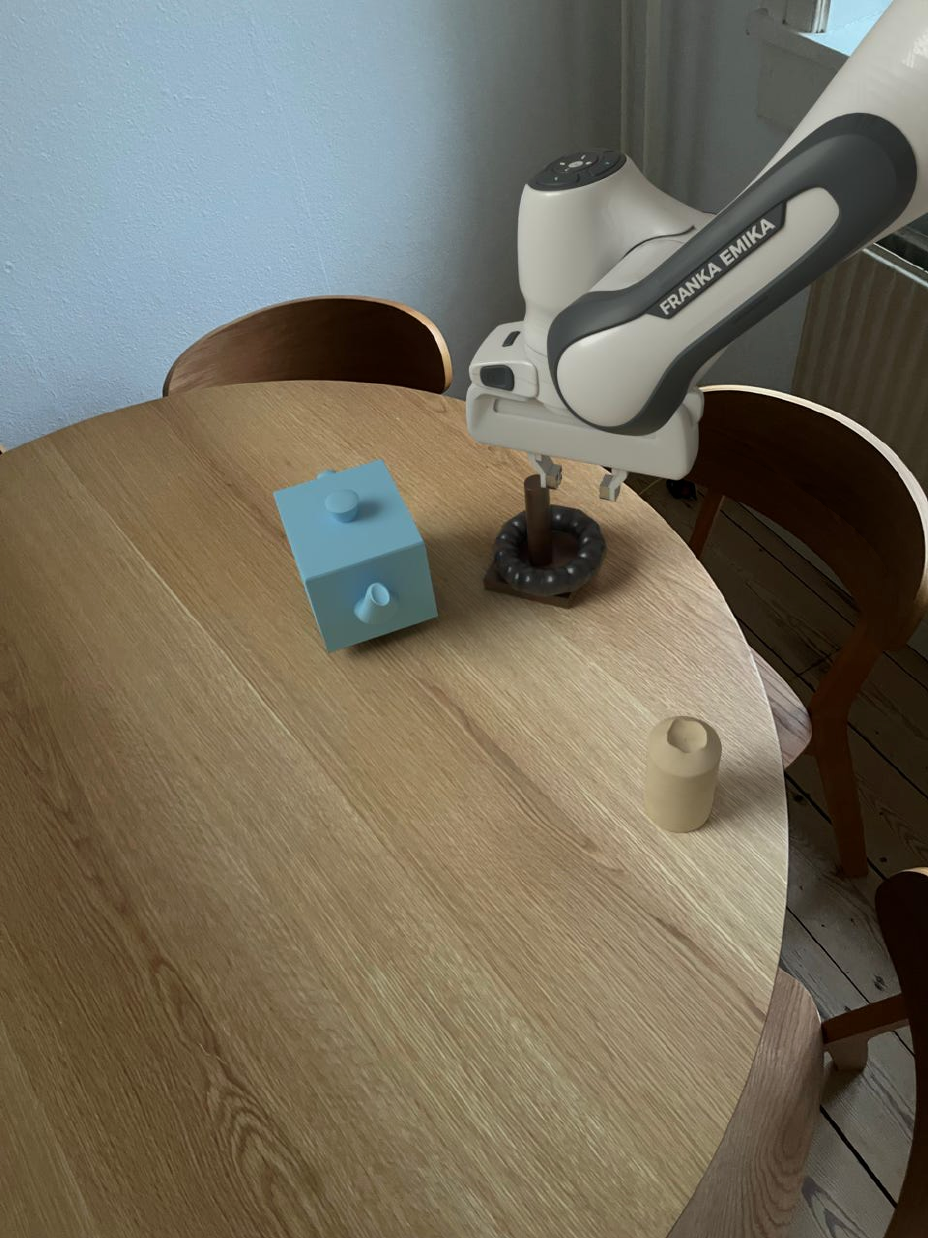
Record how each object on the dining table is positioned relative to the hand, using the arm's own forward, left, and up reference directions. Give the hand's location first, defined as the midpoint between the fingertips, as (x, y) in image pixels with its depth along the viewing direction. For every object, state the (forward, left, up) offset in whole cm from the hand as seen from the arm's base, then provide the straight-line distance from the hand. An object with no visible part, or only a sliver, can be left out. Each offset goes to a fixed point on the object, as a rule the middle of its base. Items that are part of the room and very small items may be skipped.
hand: (580, 490), depth 89 cm
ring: (+3, 0, -8) cm, 9 cm away
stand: (+4, 0, -12) cm, 12 cm away
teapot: (+18, +11, -12) cm, 24 cm away
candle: (-16, +22, -12) cm, 29 cm away
